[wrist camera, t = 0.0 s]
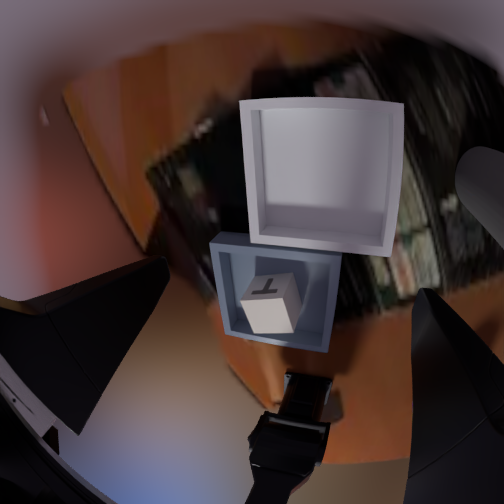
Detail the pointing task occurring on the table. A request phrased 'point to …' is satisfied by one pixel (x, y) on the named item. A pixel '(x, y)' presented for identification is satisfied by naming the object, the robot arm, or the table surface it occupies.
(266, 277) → the white cube
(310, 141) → the grey tray
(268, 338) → the blue tray
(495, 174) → the bottle
